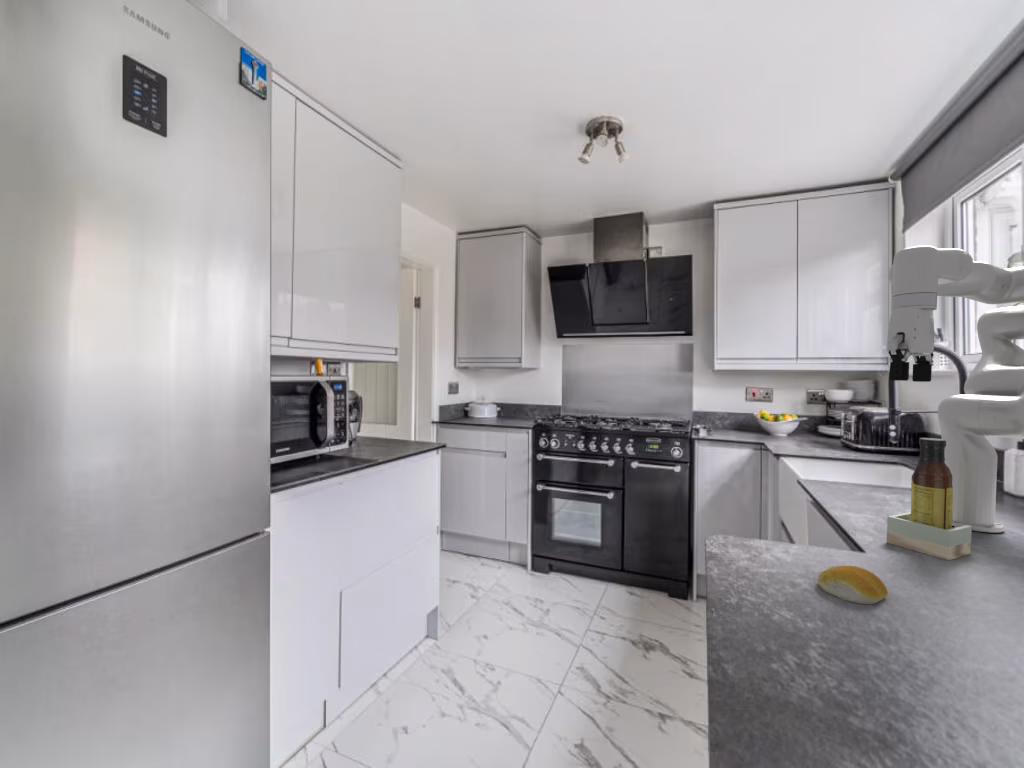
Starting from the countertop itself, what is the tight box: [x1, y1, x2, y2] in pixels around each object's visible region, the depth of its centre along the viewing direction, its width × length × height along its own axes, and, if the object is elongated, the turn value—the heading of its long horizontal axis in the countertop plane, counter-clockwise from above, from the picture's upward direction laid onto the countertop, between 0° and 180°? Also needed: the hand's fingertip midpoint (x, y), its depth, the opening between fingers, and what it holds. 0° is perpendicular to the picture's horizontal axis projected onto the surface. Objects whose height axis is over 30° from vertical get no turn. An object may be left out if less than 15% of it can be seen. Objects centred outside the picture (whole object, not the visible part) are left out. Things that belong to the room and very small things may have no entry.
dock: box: [886, 511, 973, 561], centre depth 91 cm, size 9×10×6 cm
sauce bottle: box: [910, 437, 953, 530], centre depth 92 cm, size 7×6×20 cm
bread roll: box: [817, 565, 888, 605], centre depth 71 cm, size 8×9×4 cm
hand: (910, 381), depth 99 cm, fingers open, 9 cm apart
